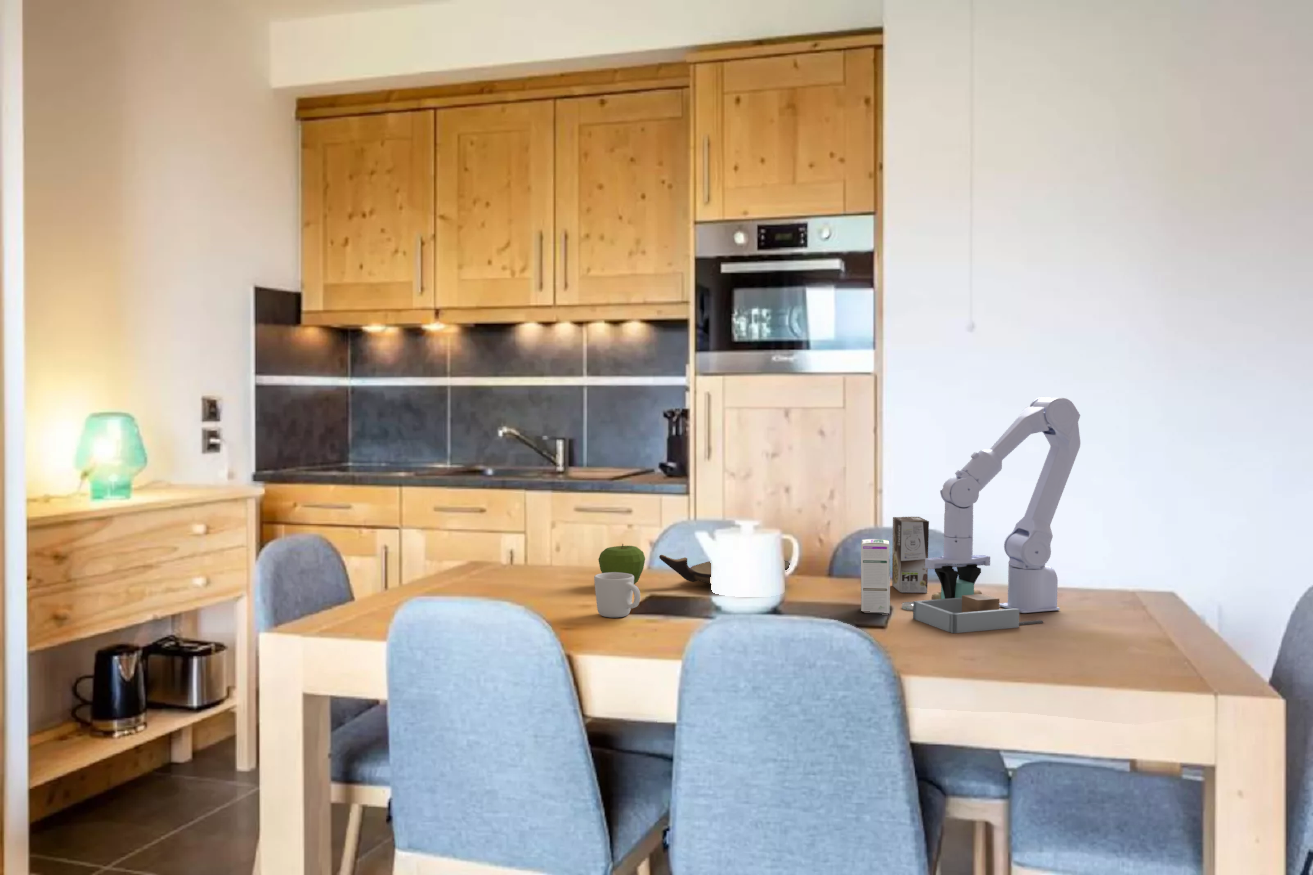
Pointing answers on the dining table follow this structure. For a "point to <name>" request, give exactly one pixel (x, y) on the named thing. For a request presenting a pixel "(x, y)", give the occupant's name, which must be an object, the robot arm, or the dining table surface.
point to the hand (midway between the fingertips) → (957, 601)
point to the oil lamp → (693, 569)
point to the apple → (622, 560)
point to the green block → (961, 589)
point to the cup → (615, 594)
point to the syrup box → (875, 575)
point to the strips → (1030, 622)
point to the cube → (979, 603)
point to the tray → (962, 616)
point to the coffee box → (910, 554)
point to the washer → (907, 606)
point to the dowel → (938, 595)
